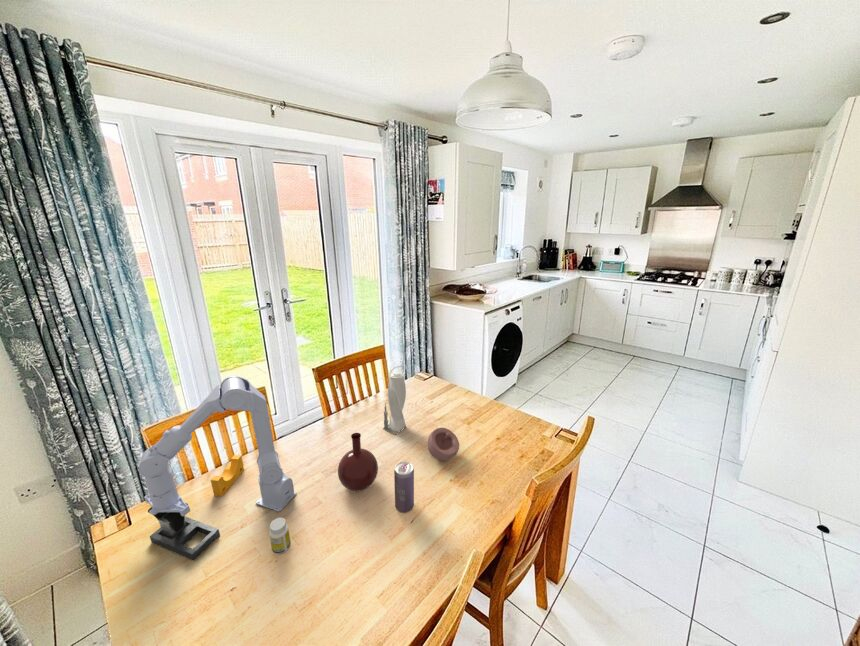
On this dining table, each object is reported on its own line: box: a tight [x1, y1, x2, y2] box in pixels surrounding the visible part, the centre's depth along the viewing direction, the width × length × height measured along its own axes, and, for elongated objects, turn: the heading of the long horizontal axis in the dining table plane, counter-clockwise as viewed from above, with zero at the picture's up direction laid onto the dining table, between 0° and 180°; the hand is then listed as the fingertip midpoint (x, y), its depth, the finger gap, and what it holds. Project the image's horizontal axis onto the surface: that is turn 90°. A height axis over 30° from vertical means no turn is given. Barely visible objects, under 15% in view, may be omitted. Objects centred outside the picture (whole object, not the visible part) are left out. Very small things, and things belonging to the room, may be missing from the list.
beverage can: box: [393, 461, 415, 514], centre depth 107 cm, size 6×6×15 cm
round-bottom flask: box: [337, 432, 379, 492], centre depth 114 cm, size 13×13×20 cm
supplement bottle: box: [269, 517, 292, 555], centre depth 94 cm, size 5×5×8 cm
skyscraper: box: [382, 365, 407, 436], centre depth 144 cm, size 8×8×28 cm
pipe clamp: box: [210, 454, 245, 497], centre depth 117 cm, size 12×4×6 cm, turn 174°
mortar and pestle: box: [426, 427, 460, 462], centre depth 129 cm, size 12×12×11 cm
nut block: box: [158, 512, 187, 540], centre depth 97 cm, size 4×4×6 cm
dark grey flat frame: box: [149, 515, 221, 562], centre depth 97 cm, size 16×8×2 cm, turn 71°
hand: (173, 526), depth 98 cm, fingers closed on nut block, 4 cm apart
